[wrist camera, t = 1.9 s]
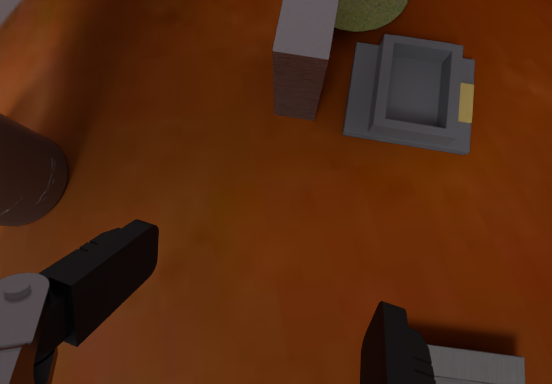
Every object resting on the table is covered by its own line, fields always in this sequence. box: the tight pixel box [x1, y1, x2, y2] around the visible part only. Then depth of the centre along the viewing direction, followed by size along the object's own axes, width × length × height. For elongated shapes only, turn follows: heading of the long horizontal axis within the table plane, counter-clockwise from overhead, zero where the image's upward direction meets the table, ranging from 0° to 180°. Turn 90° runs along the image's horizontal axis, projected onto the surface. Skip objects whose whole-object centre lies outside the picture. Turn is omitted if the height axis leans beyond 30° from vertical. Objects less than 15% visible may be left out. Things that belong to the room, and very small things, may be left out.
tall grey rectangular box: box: [272, 0, 339, 121], centre depth 28 cm, size 4×6×10 cm, turn 170°
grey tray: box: [342, 34, 475, 155], centre depth 31 cm, size 12×10×3 cm
